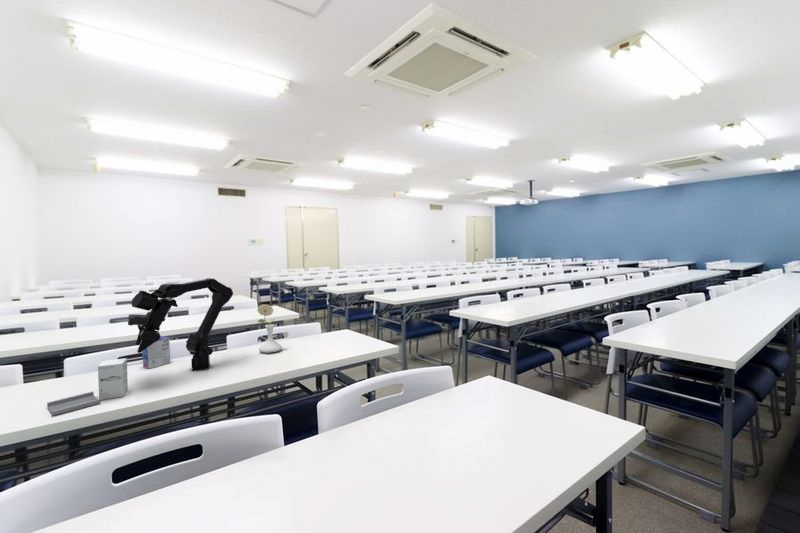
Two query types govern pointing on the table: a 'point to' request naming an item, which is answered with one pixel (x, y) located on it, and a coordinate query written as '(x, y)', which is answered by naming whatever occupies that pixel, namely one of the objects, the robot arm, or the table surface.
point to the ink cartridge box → (157, 353)
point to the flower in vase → (270, 343)
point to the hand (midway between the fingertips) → (137, 348)
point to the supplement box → (112, 378)
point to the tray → (72, 403)
